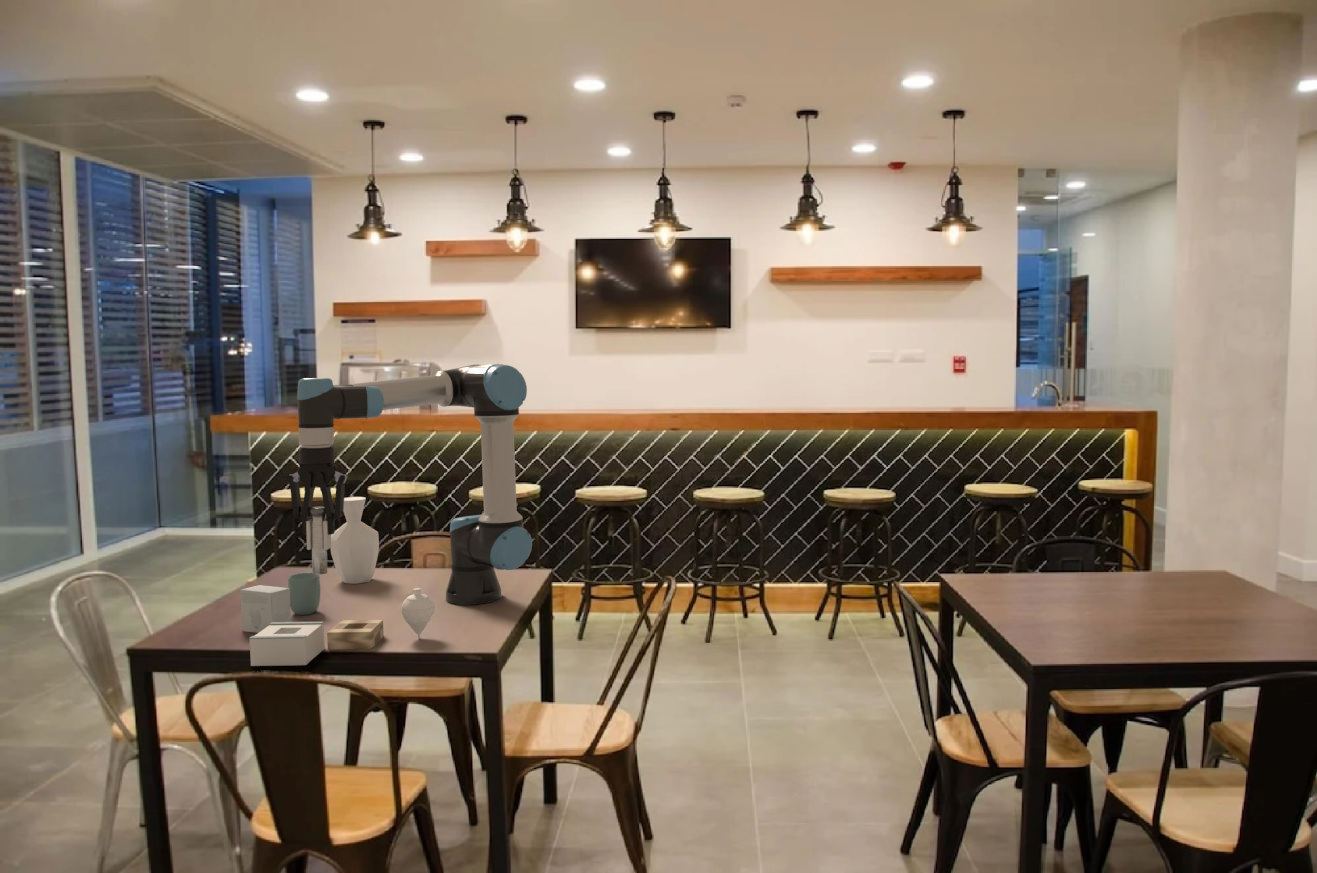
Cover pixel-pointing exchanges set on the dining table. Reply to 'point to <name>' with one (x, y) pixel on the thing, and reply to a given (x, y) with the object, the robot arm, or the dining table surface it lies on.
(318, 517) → the pin
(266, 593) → the skincare box
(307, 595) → the cup
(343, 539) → the vase
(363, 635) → the mount
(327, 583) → the dining table surface
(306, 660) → the socket
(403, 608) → the spinning top
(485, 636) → the dining table surface
